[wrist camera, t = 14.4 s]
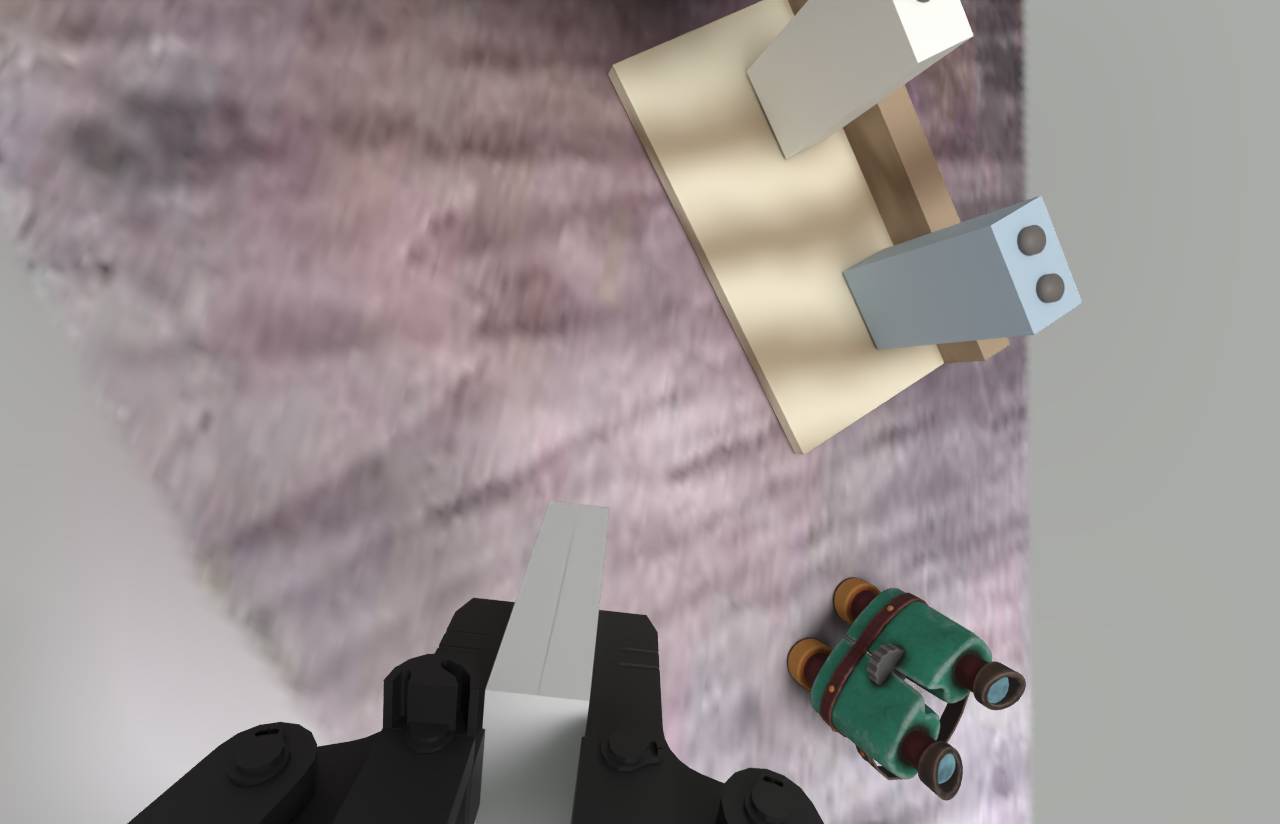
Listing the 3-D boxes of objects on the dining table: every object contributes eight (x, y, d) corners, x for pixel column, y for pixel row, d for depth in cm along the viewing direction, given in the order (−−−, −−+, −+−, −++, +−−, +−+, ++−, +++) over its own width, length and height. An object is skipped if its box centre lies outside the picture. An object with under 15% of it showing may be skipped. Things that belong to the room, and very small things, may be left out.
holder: (608, 74, 31) (627, 30, 27) (802, -10, 34) (845, -60, 30) (794, 452, 35) (835, 460, 31) (955, 348, 38) (1010, 344, 34)
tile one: (746, 71, 32) (871, -73, 22) (794, 49, 33) (936, -100, 23) (786, 159, 33) (923, 59, 23) (832, 135, 33) (984, 28, 23)
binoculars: (1009, 890, 28) (894, 796, 25) (856, 748, 38) (759, 667, 34) (1109, 732, 29) (1013, 623, 26) (936, 634, 39) (850, 546, 36)
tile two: (842, 272, 34) (997, 223, 24) (886, 247, 35) (1053, 190, 25) (877, 349, 35) (1040, 333, 25) (919, 323, 35) (1093, 298, 26)
